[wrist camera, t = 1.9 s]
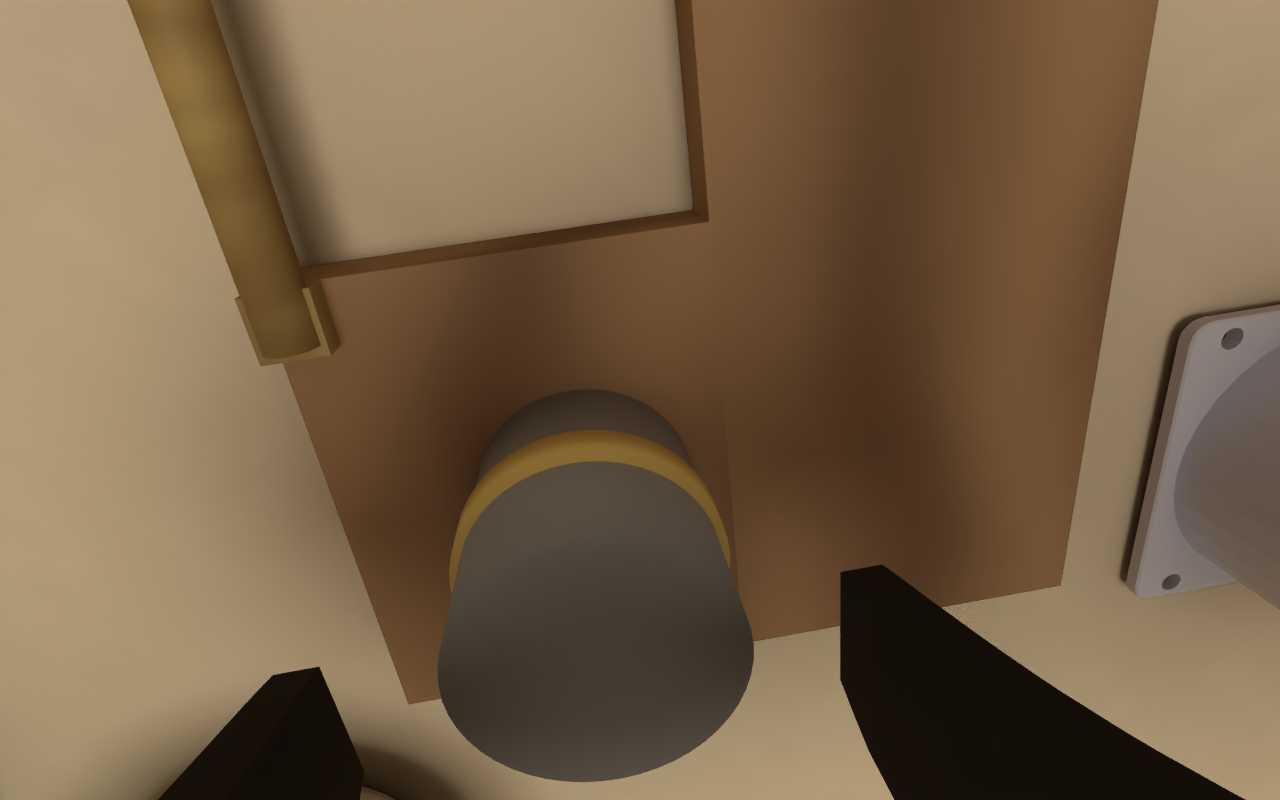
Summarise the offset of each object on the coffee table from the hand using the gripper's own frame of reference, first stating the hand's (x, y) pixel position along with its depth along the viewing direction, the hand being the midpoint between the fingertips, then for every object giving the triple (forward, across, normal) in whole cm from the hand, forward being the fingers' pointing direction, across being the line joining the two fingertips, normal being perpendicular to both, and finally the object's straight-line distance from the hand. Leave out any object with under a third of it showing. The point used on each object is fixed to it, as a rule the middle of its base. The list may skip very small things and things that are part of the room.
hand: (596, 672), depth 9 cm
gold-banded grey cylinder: (+5, 0, 0) cm, 5 cm away
